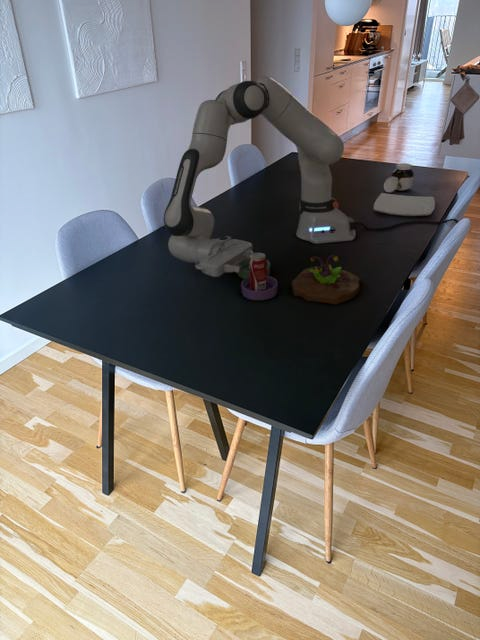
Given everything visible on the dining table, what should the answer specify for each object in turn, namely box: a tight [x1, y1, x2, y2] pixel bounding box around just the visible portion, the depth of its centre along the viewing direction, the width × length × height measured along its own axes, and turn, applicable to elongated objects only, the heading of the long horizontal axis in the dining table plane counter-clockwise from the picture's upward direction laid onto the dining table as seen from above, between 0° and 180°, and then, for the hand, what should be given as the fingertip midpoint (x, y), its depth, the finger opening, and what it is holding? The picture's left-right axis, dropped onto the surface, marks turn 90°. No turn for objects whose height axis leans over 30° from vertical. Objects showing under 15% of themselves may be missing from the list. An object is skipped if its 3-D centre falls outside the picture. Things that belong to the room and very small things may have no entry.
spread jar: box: [383, 162, 415, 194], centre depth 222 cm, size 12×11×12 cm
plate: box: [373, 192, 436, 217], centre depth 203 cm, size 24×24×3 cm
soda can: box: [249, 252, 268, 291], centre depth 143 cm, size 5×5×12 cm
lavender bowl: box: [240, 275, 278, 301], centre depth 146 cm, size 11×11×3 cm
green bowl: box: [236, 257, 271, 280], centre depth 157 cm, size 11×11×3 cm
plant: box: [291, 254, 362, 305], centre depth 144 cm, size 20×20×11 cm
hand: (248, 263), depth 143 cm, fingers open, 8 cm apart
